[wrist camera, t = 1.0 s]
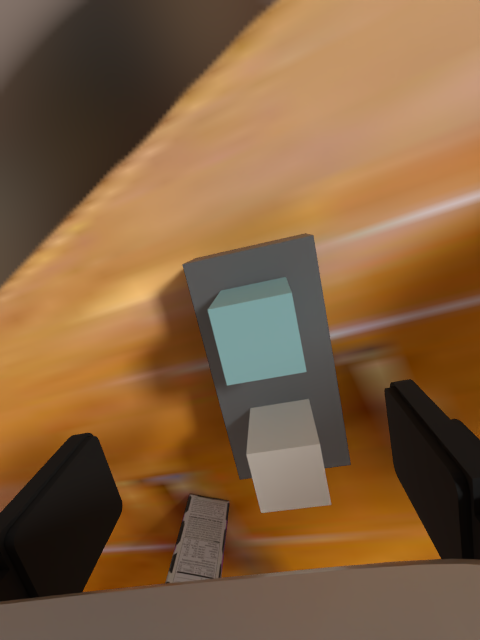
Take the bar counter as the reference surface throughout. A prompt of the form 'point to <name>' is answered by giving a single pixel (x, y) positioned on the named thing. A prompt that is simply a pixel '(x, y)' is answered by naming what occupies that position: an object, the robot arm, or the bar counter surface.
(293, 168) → the bar counter surface
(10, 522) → the robot arm
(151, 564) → the bar counter surface
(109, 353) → the bar counter surface
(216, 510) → the candy bar box
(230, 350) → the teal plug
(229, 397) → the block
